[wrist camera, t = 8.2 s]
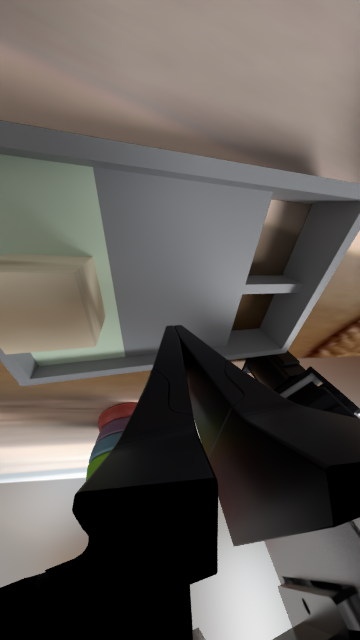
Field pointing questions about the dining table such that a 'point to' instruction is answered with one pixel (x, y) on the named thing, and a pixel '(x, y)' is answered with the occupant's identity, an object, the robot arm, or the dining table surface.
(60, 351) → the gray tray box
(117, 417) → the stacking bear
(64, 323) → the birch block
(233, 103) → the dining table surface
